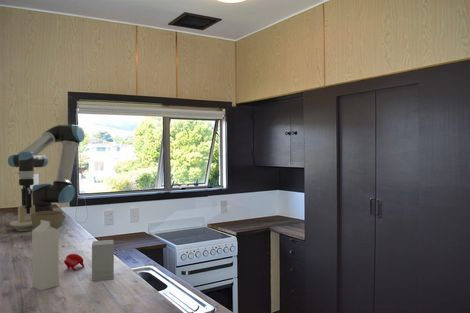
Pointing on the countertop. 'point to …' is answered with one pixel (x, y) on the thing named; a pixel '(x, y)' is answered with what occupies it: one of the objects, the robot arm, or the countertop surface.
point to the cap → (73, 261)
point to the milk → (45, 256)
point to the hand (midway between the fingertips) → (26, 218)
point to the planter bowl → (47, 218)
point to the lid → (22, 217)
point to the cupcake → (62, 217)
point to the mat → (25, 228)
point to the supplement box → (102, 260)
